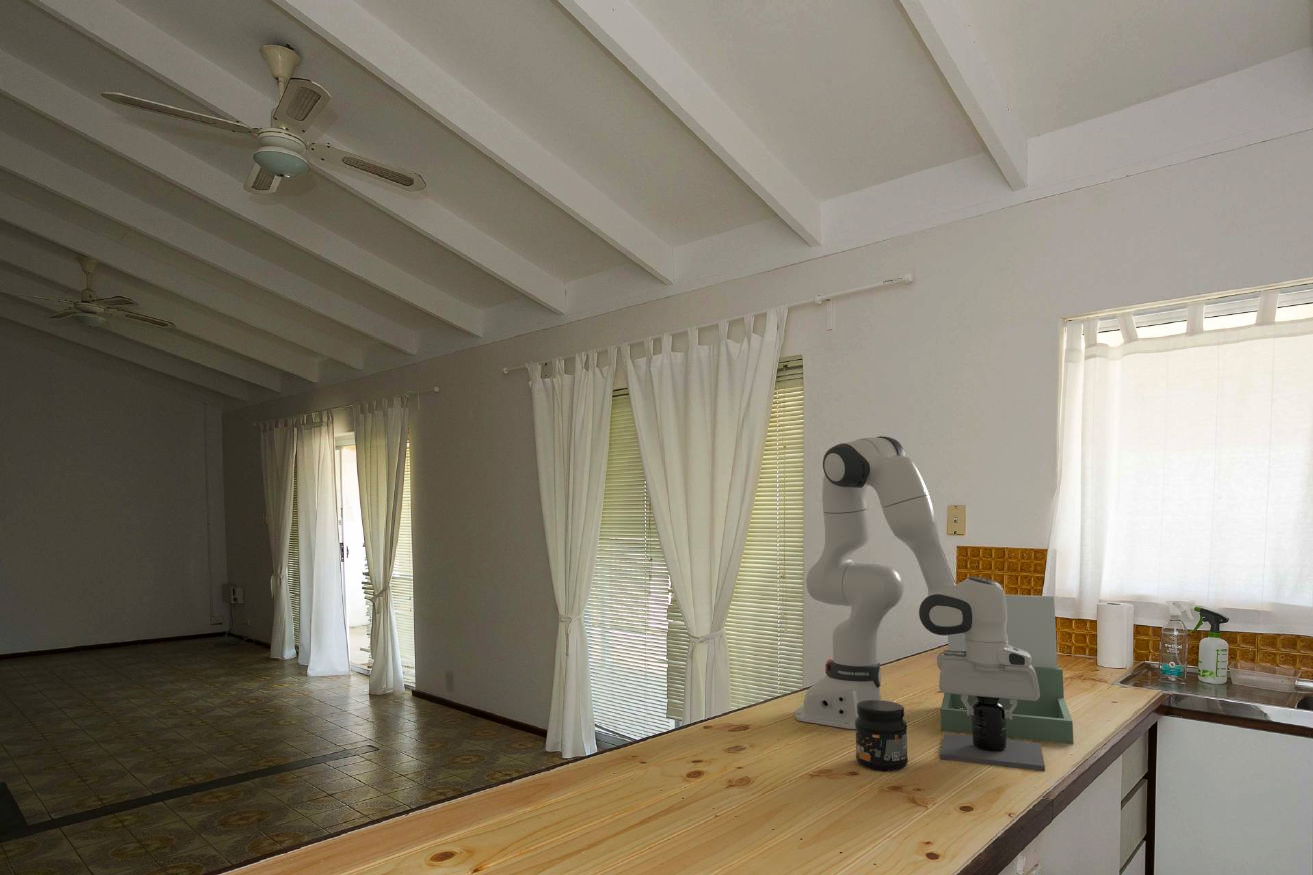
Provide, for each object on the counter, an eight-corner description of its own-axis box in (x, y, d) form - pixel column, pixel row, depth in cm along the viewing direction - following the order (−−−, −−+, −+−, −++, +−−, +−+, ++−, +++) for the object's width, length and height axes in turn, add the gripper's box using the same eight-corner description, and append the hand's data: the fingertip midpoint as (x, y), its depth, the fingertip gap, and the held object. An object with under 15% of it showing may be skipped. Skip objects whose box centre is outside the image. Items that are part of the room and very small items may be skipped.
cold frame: (941, 730, 186) (936, 603, 189) (946, 705, 209) (942, 592, 211) (1073, 743, 175) (1066, 608, 178) (1064, 716, 198) (1058, 596, 200)
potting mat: (940, 758, 165) (940, 753, 166) (944, 737, 180) (944, 733, 180) (1045, 770, 158) (1044, 765, 158) (1040, 748, 172) (1040, 743, 172)
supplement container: (849, 756, 167) (847, 699, 168) (897, 755, 168) (895, 698, 169) (865, 773, 157) (863, 712, 158) (916, 772, 158) (914, 711, 159)
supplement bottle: (1012, 751, 166) (1010, 694, 167) (980, 751, 167) (978, 694, 167) (998, 741, 173) (996, 686, 174) (967, 741, 173) (965, 686, 174)
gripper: (935, 651, 172) (937, 716, 171) (1038, 658, 164) (1041, 726, 163) (937, 646, 178) (939, 709, 177) (1037, 653, 170) (1039, 718, 169)
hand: (989, 717), depth 170 cm, fingers closed on supplement bottle, 6 cm apart
